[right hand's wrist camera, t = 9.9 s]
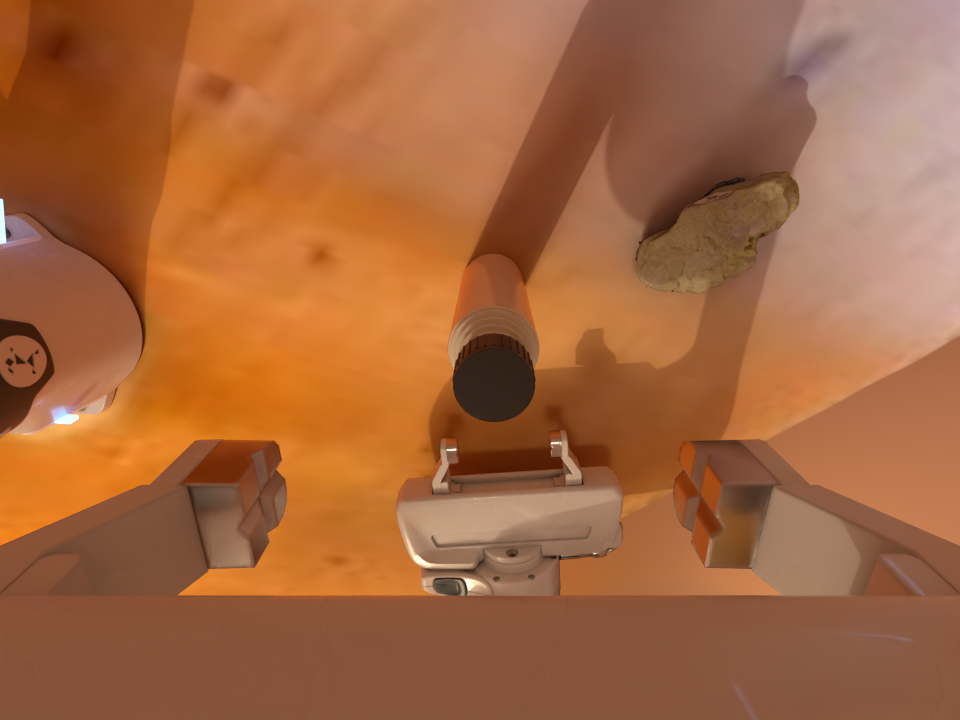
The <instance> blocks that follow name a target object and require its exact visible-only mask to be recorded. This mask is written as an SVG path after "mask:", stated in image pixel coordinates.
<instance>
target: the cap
mask: <svg viewBox="0 0 960 720" xmlns="http://www.w3.org/2000/svg"><path fill="white" fill-rule="evenodd" d="M453 389H454V394H455V397H456V399H457V402H458V403H459V405H460V406H461V407H462V408H463V409H464V410H465V411H466V412H467V413H468V414H470V415H471V416H473V417H475V418H477V419H480V420H483V421H488V422H500V421H505V420H508V419H511V418H513V417H515V416H517V415H518V414H520V413H521V412H522V411H523V410H524V409H525V408H526V407H527V406H528V405H529V403H530V401H531V400H532V397H533V395H534V390H535V375H534V368H533V363H532V359H530V355H529V352H527V350H526V349H525V346H524V345H522V344H521V343H519V341H518V340H515V339H514V338H512V337H511V336H510V337H509V336H507V335H503V334H498V333H491V334H486V333H485V334H484V335H481V336H476V338H474V339H472V340H469V342H468V343H467V344H466V345H465V346H463V348H462V350H461V352H459V353H458V358H457V359H456V361H455V367H454V374H453Z"/></svg>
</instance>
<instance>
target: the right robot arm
mask: <svg viewBox="0 0 960 720" xmlns="http://www.w3.org/2000/svg"><path fill="white" fill-rule="evenodd" d="M281 461H282V458H281V454H280V449H279V445H278V444H277V443H276V442H275V441H259V440H223V439H218V440H198V441H194V442H193V443H192V444H191V445H190V446H189V447H188V448H187V449H186V450H185V451H184V452H183V453H182V454H181V455H180V456H179V457H178V458H177V459H176V460H175V461H174V462H173V463H172V464H171V465H170V466H169V467H168V468H167V469H166V470H165V471H164V472H163V473H162V474H161V475H160V476H159V477H158V478H156V479H155V480H154V481H153V482H152V483H151V484H150V485H141V486H138V487H136V488H134V489H131V490H129V491H127V492H124V493H122V494H120V495H117V496H115V497H113V498H110V499H108V500H106V501H103V502H101V503H99V504H96V505H94V506H92V507H89V508H87V509H85V510H83V511H80V512H78V513H76V514H73V515H71V516H69V517H66V518H64V519H62V520H59V521H57V522H55V523H52V524H50V525H48V526H45V527H43V528H41V529H38V530H36V531H34V532H31V533H29V534H27V535H24V536H22V537H20V538H17V539H15V540H13V541H10V542H8V543H6V544H3V545H1V546H0V720H960V546H958V545H956V544H954V543H952V542H949V541H947V540H945V539H942V538H940V537H938V536H935V535H933V534H931V533H928V532H926V531H924V530H921V529H919V528H917V527H914V526H912V525H910V524H907V523H905V522H903V521H900V520H898V519H896V518H894V517H891V516H889V515H887V514H884V513H882V512H880V511H877V510H875V509H873V508H870V507H868V506H866V505H863V504H861V503H859V502H856V501H854V500H852V499H849V498H847V497H845V496H843V495H840V494H838V493H836V492H833V491H831V490H829V489H826V488H824V487H822V486H819V485H810V484H809V483H808V482H807V481H806V480H805V479H804V478H803V477H801V476H800V475H799V474H798V473H797V472H796V471H795V470H794V469H793V468H792V467H791V466H790V465H789V464H788V463H787V462H786V461H785V460H784V459H783V458H782V457H781V456H780V455H779V454H778V453H777V452H776V451H775V450H774V449H773V448H772V447H771V446H770V445H769V444H768V443H767V442H766V441H763V440H760V439H753V440H718V441H687V442H683V444H682V446H681V448H680V453H679V458H678V461H679V462H680V464H681V465H682V467H683V468H684V470H683V471H682V472H681V473H680V474H679V475H678V476H677V478H676V479H675V483H674V491H673V498H674V507H675V511H676V514H677V517H678V519H679V521H680V523H681V525H682V526H683V527H685V528H686V529H688V530H689V531H691V532H692V539H691V543H692V545H693V547H694V548H695V550H696V552H697V554H698V555H699V557H700V559H701V561H702V563H703V564H704V566H705V567H706V568H739V569H752V572H754V573H755V574H756V575H758V576H759V577H760V578H762V579H763V580H764V581H765V582H767V583H768V584H769V585H771V586H772V587H773V588H774V589H776V590H777V591H778V592H780V593H781V594H782V595H784V596H177V595H178V594H179V593H181V592H182V591H183V590H184V589H186V588H187V587H188V586H190V585H191V584H192V583H193V582H195V581H196V580H197V579H199V578H200V577H201V576H203V575H204V574H205V573H206V572H208V569H221V568H255V566H256V564H257V563H258V561H259V559H260V557H261V556H262V554H263V552H264V550H265V548H266V547H267V545H268V543H269V539H268V532H269V531H271V530H272V529H274V528H275V527H277V526H278V525H279V523H280V521H281V519H282V517H283V515H284V510H285V506H286V502H287V489H286V482H285V479H284V478H283V476H282V475H281V474H280V473H279V472H278V471H277V470H276V468H277V467H278V465H279V464H280V462H281Z"/></svg>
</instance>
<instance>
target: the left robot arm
mask: <svg viewBox="0 0 960 720" xmlns="http://www.w3.org/2000/svg"><path fill="white" fill-rule="evenodd" d="M8 230H9V231H10V233H11V235H10V234H9V233H8ZM141 350H142V328H141V323H140V319H139V316H138V313H137V311H136V308H135V306H134V304H133V302H132V300H131V298H130V297H129V295H128V293H127V292H126V290H125V289H124V288H123V286H122V285H121V284H120V283H119V281H118V280H117V279H116V278H115V277H114V276H113V275H112V274H111V273H110V272H109V271H108V270H107V269H106V268H105V267H104V266H102V265H101V264H100V263H98V262H97V261H96V260H94V259H93V258H91V257H90V256H88V255H87V254H85V253H83V252H81V251H79V250H77V249H75V248H73V247H71V246H69V245H67V244H65V243H63V242H61V241H59V240H58V239H56V238H55V237H54V236H53V235H52V234H51V233H49V232H48V231H47V230H46V229H45V228H44V227H43V226H42V225H41V224H40V223H38V222H37V221H36V220H35V219H33V218H32V217H31V216H29V215H27V214H24V213H14V214H11V215H7V216H4V210H3V200H2V199H0V438H1V437H3V436H4V435H5V434H6V433H12V434H24V435H32V434H35V433H38V432H40V431H42V430H44V429H45V428H47V427H49V426H51V425H53V424H55V423H64V424H71V423H72V422H74V421H75V420H77V419H78V415H72V414H74V413H82V414H92V415H95V414H99V413H101V412H103V411H105V410H107V409H108V408H109V407H110V406H111V404H112V401H113V398H114V394H115V390H116V388H117V386H118V385H119V384H120V383H121V382H122V381H123V380H124V379H125V378H126V377H127V376H129V374H130V373H131V372H132V371H133V370H134V368H135V366H136V365H137V363H138V360H139V358H140V354H141ZM549 448H550V453H551V457H561V458H562V460H563V469H549V470H534V471H519V472H503V473H488V474H473V475H458V476H450V470H449V469H448V467H449V465H450V464H458V463H459V455H460V450H459V446H458V437H455V438H441V443H440V453H441V457H440V459H439V461H438V463H437V465H436V467H435V469H434V474H433V477H427V478H412V479H408V480H406V481H405V483H404V484H403V485H402V487H401V488H400V491H399V494H398V497H397V502H396V515H397V520H398V524H399V528H400V531H401V535H402V538H403V541H404V544H405V546H406V549H407V552H408V554H409V556H410V557H411V559H412V560H413V561H414V562H415V563H416V564H417V565H419V566H421V585H422V588H423V589H424V590H425V591H426V592H428V593H432V594H437V595H442V596H559V595H560V564H559V560H560V559H561V560H562V559H577V558H582V557H595V558H597V557H604V556H606V555H607V552H611V551H613V550H615V549H616V548H618V547H620V545H621V543H622V529H623V528H622V524H621V522H620V519H621V513H622V505H623V492H622V488H621V485H620V482H619V480H618V477H617V476H616V474H615V473H614V472H613V471H612V470H611V469H610V468H609V467H607V466H595V467H580V466H579V462H578V459H577V458H576V457H575V455H574V454H573V453H572V451H571V450H570V449H569V447H568V439H567V434H566V430H556V431H549Z"/></svg>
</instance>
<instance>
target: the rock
mask: <svg viewBox="0 0 960 720" xmlns="http://www.w3.org/2000/svg"><path fill="white" fill-rule="evenodd" d="M744 180H745V178H735V179H733V180H730V181H727V182H726V181H724V182H721V183H719V184H717V185H716V186H718V188H714V189H713V188H712V190H710V191H709V192H708V193H707V194H706V195H705V196H704V197H703V198H701V199H700V200H698V201H695V202H692V203H690V204H687V205H686V206H685V207H684V208H683V209H682V211H681V213H680V215H679V218H678V219H677V222H676V223H675V224H674V225H673V226H672V227H671V228H668V229H664V230H661V231H659V232H657V233H654V232H652V233H654V234H652V235H650V236H649V237H647V238H645V239H644V240H643V241H641V242H640V241H639V244H640V246H639V248H638V250H637V256H636V259H635V260H636V261H637V270H636V273H637V276H638V278H639V280H640V281H641V282H643V283H644V284H645V285H647V286H649V287H651V288H653V289H655V290H661V291H672V292H673V291H674V290H675V291H677V292H680V293H684V292H687V291H689V292H691V293H695V294H699V293H704V292H705V291H707V290H708V289H709V288H712V287H717V286H719V285H721V284H722V283H723V282H724V281H725V280H726V279H727V278H728V277H738V276H740V275H741V274H742V272H743V271H745V270H747V269H749V268H751V267H752V266H753V265H754V264H755V263H756V258H755V256H756V255H757V251H756V243H757V239H758V238H761V237H764V236H766V235H768V234H770V233H772V232H774V231H776V230H777V229H779V228H780V227H781V226H782V225H783V224H784V223H785V221H786V220H787V218H788V217H789V215H790V214H791V213H792V212H793V211H794V210H796V208H797V206H798V204H799V188H798V185H797V183H796V181H795V180H794V179H792V178H791V176H790V174H789V173H788V172H785V171H784V172H773V173H768V174H762V175H760V176H759V177H757V178H755V179H752V180H749V181H744ZM735 204H736V205H735ZM647 286H646V287H647Z"/></svg>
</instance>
